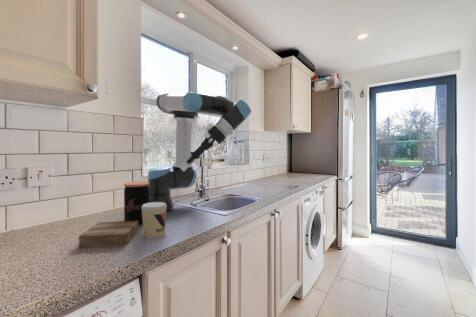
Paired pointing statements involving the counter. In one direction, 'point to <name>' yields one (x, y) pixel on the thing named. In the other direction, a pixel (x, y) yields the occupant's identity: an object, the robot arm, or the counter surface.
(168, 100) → the robot arm
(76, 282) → the counter surface
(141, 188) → the coffee jar
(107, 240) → the walnut riser
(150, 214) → the coffee cup
